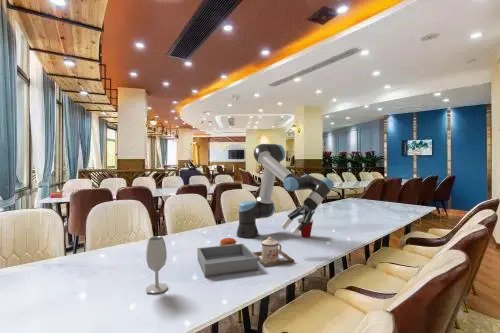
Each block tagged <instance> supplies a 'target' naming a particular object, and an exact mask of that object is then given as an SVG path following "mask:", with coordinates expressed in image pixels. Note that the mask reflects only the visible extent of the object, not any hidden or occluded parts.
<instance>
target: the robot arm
mask: <svg viewBox="0 0 500 333" xmlns="http://www.w3.org/2000/svg"><path fill="white" fill-rule="evenodd" d="M253 157H254V159H255V161H256V162H257V163H258V164H259V165H261V166H262V165H263V166H264V167H263V168H264V169H263V174H262V180H261V184H260V189H259V196H258V197H256V201H255V200H245V201H242V202H240V203H239V204H238V225H237V226H238V227H237V229H236V237H238V238H240V239H241V238H242V239H243V238H244V239H253V238H257V237H258V236H259V231H258V227H257V220H259V219H264V218H265V219H268V218H269V217H272V216H273V215H274V214H275V209H276V208H275V203H274V200H273V199H272V196H273V191H274V187H275V186H274V185H275V180H276V177H277V178H278V180H280V181H281V182H282V183H283V187H284V190H286V191H288V192H295V191H305V190H310V191H311V192H310V193H309V195H308V196H307V197H306V198H305V199H304V200H303V205H301V204H299V205H298V207H296V208H295V209H294V210H292V211H291V212H289V214H287V219H286V220H285V222H284V223H283V224H281V225H280V226H281V228H282V229H283V230H286V229H287V228H288V227H289V225H290V224H291V223H292V222H293V221H294V219H296V218H298V217H299V216H302V217H301V218H302V221H301V223H302V224H301V223H299V222H298V224H297V226H296V227H294V229H293V230H292V232H291V233H292V234H294V236H297V235H298V234H299V233H301V231H300V230H301V229H302V228H303V227H304V226H306V225H307V226H308V225H309V223H310V220H311V218H312V217H313V216H314V213H315V212H316V211H315V210H316V209H317V208H318V206H320V205H321V203H322V202H323V201H324V199H325V198H326V197H327V196H328V195H329V194H330V192H332V190H333V189H334V187H335V183H334V182H333V180H331V179H330V178H329V177H323V178H321V179H319V178H317V177H315V176H313V175H311V174H307V173H306V174H303V175H301V176H297V175H295V174H294V173H293V172H291V171H290V169H288V168H287V167H285V166H284V165H283V164H282V163H281V162H282V161H284V160H285V158H286V151H285V148H284V147H283V146H282V145H281V144H276V143H261V144H258V145H257V146H255V148H254V150H253ZM312 219H313V218H312Z"/></svg>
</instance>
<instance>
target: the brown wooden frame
mask: <svg viewBox="0 0 500 333" xmlns="http://www.w3.org/2000/svg"><path fill="white" fill-rule="evenodd" d="M278 251H279V248H278ZM251 252H252V251H251ZM252 253H253V254H254V255H255V256H256V257H257V258H258V263H259V264H261V266H262V267H263V268H265V267H266V268H268V267H274V266H280V265H281V266H282V265H288V264H294V263H295V259H293V258H292V257H291V256H290V255H288V254H286V253H285V252H284V251H283V250H281V251H280V253H278V255H279V254H280V255H281V256H282V257H283V258H284V260H277V261H275V262H266V261H263V260H262V257H260V256H262V250H261V251H254V252H252Z"/></svg>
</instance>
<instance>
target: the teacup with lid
mask: <svg viewBox="0 0 500 333" xmlns="http://www.w3.org/2000/svg"><path fill="white" fill-rule="evenodd" d="M260 244H261V251H262V255H261V259H262V260H263V261H264V262H265V263H267V262H275V261H279V253H280V251H282V244H280V243H279V242H278V240H276V239H273V237H271V236H268V237H267V239H265V240H262V241H261V243H260ZM278 249H279V251H278Z"/></svg>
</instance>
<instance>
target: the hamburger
mask: <svg viewBox="0 0 500 333" xmlns="http://www.w3.org/2000/svg"><path fill="white" fill-rule="evenodd" d="M219 242H220V243H219V244H218V246H223V245H233V244H237V243H238V241H237V240H236V239H235V238H232V237H225V238H222V239H221V240H220V241H219Z"/></svg>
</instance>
